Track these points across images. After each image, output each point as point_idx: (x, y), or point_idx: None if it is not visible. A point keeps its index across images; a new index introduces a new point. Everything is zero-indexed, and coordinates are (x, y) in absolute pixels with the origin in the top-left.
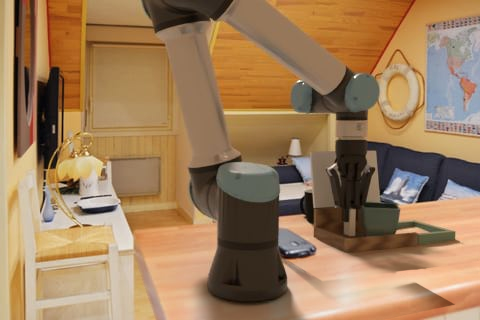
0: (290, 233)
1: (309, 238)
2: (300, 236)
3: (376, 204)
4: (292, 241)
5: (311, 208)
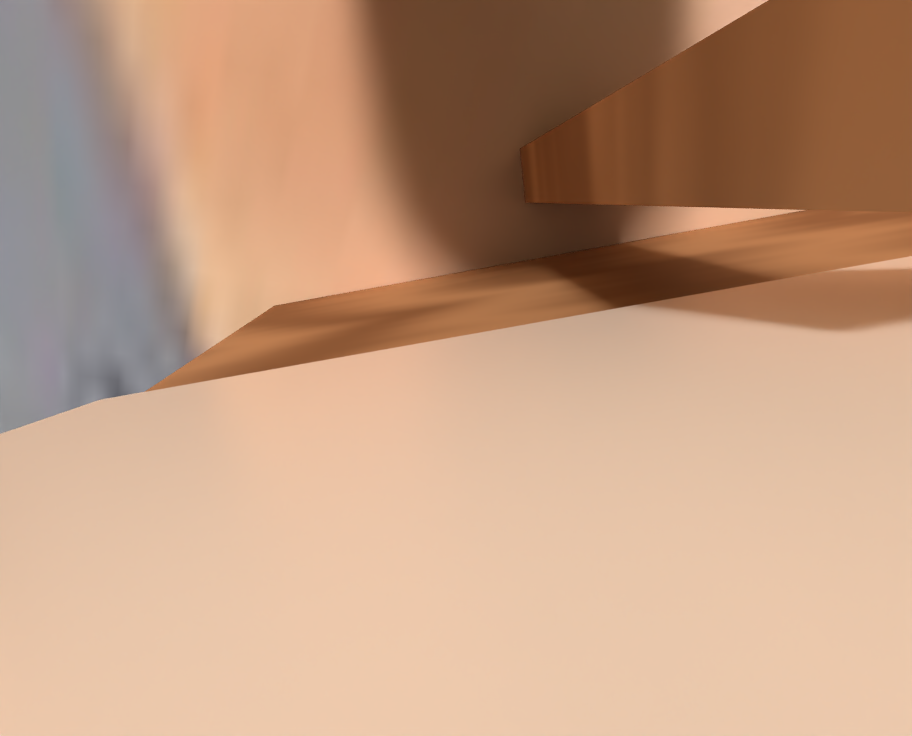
0: (78, 98)
1: (238, 316)
2: (170, 239)
3: None
4: (95, 384)
5: None
